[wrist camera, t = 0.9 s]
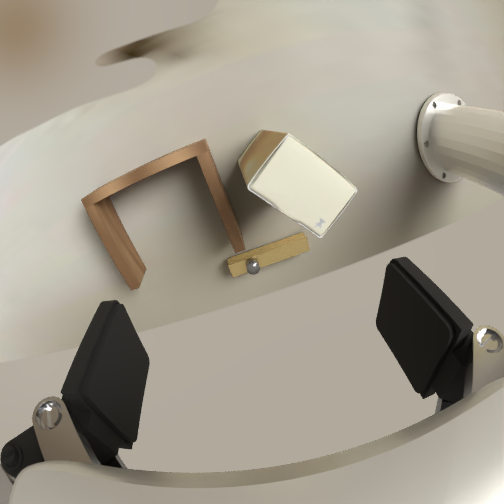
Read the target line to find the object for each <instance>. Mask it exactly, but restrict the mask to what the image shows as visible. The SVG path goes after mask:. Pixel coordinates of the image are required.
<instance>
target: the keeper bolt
mask: <svg viewBox="0 0 504 504" xmlns="http://www.w3.org/2000/svg"><path fill="white" fill-rule="evenodd" d="M309 250H310V249H309V245H308V241H307V237H306V236H305V235H304V233H303V232H302V233H299V234H296V235H293V236H290V237H287V238H285V239H282V240H279V241H276V242H273V243H270V244H268V245H265V246H262V247H259V248H256V249H254V250H251V251H248V252H245V253H242V254H239V255H237V256H234V257H231V258H228V267H229V269H230V271H231V274H232V276H233V277H236V276H239V275H242V274H244V273H247V272H248V273H249V274H257V273H258V272H259V270H260V268H262V267H264V266H267V265H270V264H273V263H276V262H279V261H281V260H284V259H287V258H290V257H293V256H295V255H298V254H301V253H304V252H306V251H309Z"/></svg>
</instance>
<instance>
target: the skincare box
mask: <svg viewBox="0 0 504 504" xmlns="http://www.w3.org/2000/svg"><path fill="white" fill-rule="evenodd" d="M238 164H239V167H240V169H241V172H242V175H243V177H244V180H245V183H246V186H247V188H248V190H249V191H251V192H252V193H254V194H255V195H257V196H258V197H260V198H261V199H263V200H264V201H266V202H267V203H269V204H270V205H271V206H273V207H275V208H276V209H277V210H279V211H280V212H282V213H283V214H285V215H286V216H288V217H289V218H291V219H292V220H294V221H295V222H297V223H298V224H300V225H301V226H303V227H304V228H306V229H307V230H308V231H310V232H311V233H313V234H314V235H316V236H317V237H318V238H322V237H323V236H324V234H325V233H326V232H327V231H328V229H329V228H330V227H331V226H332V224H333V223H334V222H335V221H336V220H337V218H338V217H339V216H340V215H341V213H342V212H343V211H344V209H345V208H346V207H347V206H348V204H349V203H350V201H351V200H352V198H353V197H354V196H355V194H356V193H357V188H356V187H355V186H354V185H353V184H352V183H351V182H350V181H349V180H348V179H347V178H346V177H345V176H344V175H343V174H341V173H340V172H339V171H338V170H337V169H336V168H335V167H333V166H332V165H331V164H330V163H329V162H327V161H326V160H325V159H324V158H322V157H321V156H320V155H319V154H317V153H316V152H315V151H313V150H312V149H311V148H309V147H308V146H306V145H305V144H304V143H302V142H301V141H299V140H298V139H297V138H295V137H294V136H292V135H291V134H288V133H281V132H274V131H266V130H260V132H259V133H258V134H257V135H256V137H255V138H254V139H253V140H252V142H251V143H250V144H249V146H248V147H247V148H246V150H245V151H244V153H243V154H242V155H241V157H240V158H239V160H238Z"/></svg>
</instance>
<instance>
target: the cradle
mask: <svg viewBox="0 0 504 504" xmlns="http://www.w3.org/2000/svg"><path fill="white" fill-rule="evenodd" d="M195 156H197V159H198V161H199V164H200V166H201V169H202V171H203V174H204V176H205V179H206V181H207V184H208V186H209V189H210V192H211V194H212V197H213V199H214V201H215V204H216V206H217V209H218V211H219V214H220V216H221V219H222V221H223V224H224V226H225V229H226V231H227V234H228V236H229V238H230V241H231V243H232V246H233V248H234V251H235V253H237V252H240V251H243V250H245V247H244V242H243V238H242V233H241V231H240V228H239V225H238V223H237V220H236V218H235V215H234V212H233V210H232V207H231V205H230V202H229V199H228V197H227V194H226V192H225V189H224V186H223V184H222V181H221V178H220V176H219V173H218V171H217V168H216V165H215V163H214V160H213V158H212V155H211V152H210V150H209V147H208V144H207V142H206V139H203V140H200V141H198V142H195V143H193V144H190V145H188V146H185V147H183V148H181V149H178V150H176V151H173V152H171V153H169V154H166V155H164V156H162V157H160V158H158V159H155V160H153V161H151V162H149V163H147V164H145V165H142V166H140V167H138V168H136V169H134V170H132V171H130V172H128V173H126V174H124V175H122V176H120V177H118V178H116V179H114V180H113V181H111V182H109V183H107V184H105V185H103V186H101V187H100V188H98V189H96V190H95V191H93V192H92V193H90V194H89V195H87V196H86V197H84V198H83V199H81V201H82V203H83V205H84V207H85V209H86V211H87V213H88V215H89V217H90V219H91V221H92V223H93V225H94V227H95V229H96V230H97V232H98V234H99V236H100V238H101V240H102V242H103V243H104V245H105V247H106V249H107V251H108V252H109V254H110V256H111V258H112V259H113V261H114V263H115V264H116V266H117V268H118V269H119V271H120V273H121V274H122V276H123V278H124V279H125V281H126V283H127V284H128V286H129V287H130V289H131V290H134V289H137V288H139V286H140V284H141V281H142V278H143V276H144V273H145V271H146V267H145V265H144V264H143V262H142V260H141V258H140V257H139V255H138V253H137V251H136V249H135V247H134V246H133V244H132V242H131V240H130V238H129V236H128V234H127V232H126V230H125V229H124V227H123V225H122V223H121V221H120V219H119V217H118V215H117V213H116V211H115V209H114V207H113V204H112V202H111V200H110V198H109V196H110V195H112V194H113V193H115V192H117V191H119V190H121V189H123V188H125V187H127V186H129V185H131V184H133V183H136V182H138V181H140V180H142V179H144V178H146V177H148V176H150V175H153V174H155V173H157V172H159V171H162V170H164V169H166V168H168V167H171V166H173V165H175V164H178V163H180V162H183V161H185V160H187V159H190V158H192V157H195Z"/></svg>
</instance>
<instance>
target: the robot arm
mask: <svg viewBox="0 0 504 504" xmlns="http://www.w3.org/2000/svg"><path fill="white" fill-rule="evenodd" d="M417 140H418V147H419V151H420V155H421V158H422V160H423V163H424V165H425V166H426V168H427V170H428V171H429V172H430V173H431V174H432V175H433V176H434V177H435V178H437V179H439V180H441V181H444V182H448V183H452V182H456V181H459V180H460V179H462V178H466V179H468V180H471V181H473V182H475V183H478V184H480V185H482V186H484V187H487V188H489V189H491V190H493V191H495V192H498V193H500V194H502V195H504V112H503V111H497V110H492V109H485V108H479V107H471V106H466V104H465V103H464V102H463V101H462V100H461V99H460V98H459V97H457V96H456V95H454V94H451V93H437V94H434V95H432V96H431V97H430V98H428V100H427V101H426V102H425V103H424V105H423V107H422V109H421V112H420V115H419V119H418V126H417ZM376 326H377V329H378V330H379V332H380V333H381V335H382V337H383V338H384V340H385V341H386V343H387V345H388V346H389V348H390V349H391V351H392V352H393V354H394V356H395V358H396V359H397V361H398V363H399V364H400V366H401V368H402V369H403V371H404V373H405V374H406V376H407V378H408V379H409V381H410V383H411V384H412V386H413V388H414V390H415V391H416V392H417V393H420V394H421V396H422V398H423V399H424V398H427V397H429V396H431V395H433V394H434V393H435V392H436V393H437V395H438V401H437V406H436V411H435V414H434V415H432V416H430V417H428V418H426V419H424V420H422V421H420V422H418V423H416V424H414V425H412V426H409V427H407V428H405V429H403V430H400V431H398V432H396V433H393V434H391V435H388V436H386V437H383V438H381V439H378V440H375V441H372V442H369V443H367V444H364V445H361V446H358V447H355V448H351V449H348V450H345V451H342V452H338V453H335V454H331V455H327V456H323V457H320V458H315V459H311V460H306V461H302V462H297V463H292V464H287V465H281V466H275V467H268V468H261V469H252V470H243V471H231V472H213V473H173V472H156V471H143V470H133V469H127V467H126V466H125V464H124V463H123V462H122V460H121V459H120V457H119V455H118V449H119V448H124V449H132V445H133V442H135V441H136V440H137V435H138V428H139V421H140V414H141V407H142V402H143V396H144V390H145V385H146V379H147V374H148V369H149V357H148V354H147V353H146V351H145V349H144V347H143V345H142V343H141V341H140V339H139V337H138V335H137V333H136V331H135V328H134V326H133V324H132V322H131V320H130V318H129V316H128V313H127V311H126V309H125V307H124V305H123V304H120V303H119V302H118V301H117V300H112V301H103V302H101V303H100V305H99V307H98V309H97V311H96V313H95V315H94V317H93V319H92V321H91V323H90V325H89V327H88V329H87V331H86V333H85V336H84V338H83V340H82V342H81V344H80V347H79V349H78V351H77V353H76V356H75V358H74V360H73V363H72V365H71V367H70V370H69V372H68V375H67V378H66V380H65V382H64V385H63V388H62V390H61V393H62V394H63V396H62V399H60V398H58V397H48V398H45V399H43V400H42V401H40V402H39V403H38V405H37V406H36V407H35V409H34V412H33V417H32V420H33V426H32V427H30V428H29V429H27V430H26V431H24V432H23V433H21V434H20V435H18V436H17V437H15V438H14V439H12V440H10V441H9V442H8V443H7V444H6V445H5V446H4V447H3V449H2V452H1V464H0V504H504V336H503V335H502V334H501V332H500V331H498V330H497V329H495V328H494V327H491V326H480V327H478V328H477V329H476V330H475V332H474V333H473V332H472V331H471V329H472V326H473V323H472V322H471V321H470V320H469V319H468V318H467V317H466V316H465V314H464V313H463V312H462V311H461V310H460V309H459V308H458V307H457V306H456V305H455V304H454V303H453V302H452V301H451V300H450V298H449V297H448V296H447V295H446V294H445V293H444V292H443V291H442V290H441V289H440V288H439V287H438V286H437V285H436V284H435V283H433V281H432V280H431V279H429V278H428V277H427V276H426V275H425V274H424V273H423V272H422V271H421V270H420V269H419V268H418V267H417V266H416V265H415V264H413V263H412V262H411V261H410V260H409V259H408V258H407V257H401V258H396V259H392V260H391V261H390V264H388V265H387V267H386V272H385V278H384V284H383V289H382V295H381V299H380V304H379V309H378V314H377V318H376Z"/></svg>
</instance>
